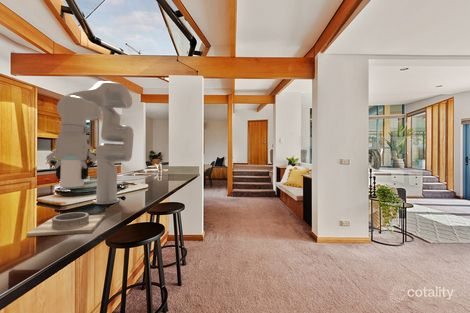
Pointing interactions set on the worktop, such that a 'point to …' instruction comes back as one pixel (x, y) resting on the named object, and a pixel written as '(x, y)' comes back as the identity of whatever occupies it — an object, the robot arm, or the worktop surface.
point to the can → (71, 172)
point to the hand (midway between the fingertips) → (72, 178)
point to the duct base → (68, 224)
